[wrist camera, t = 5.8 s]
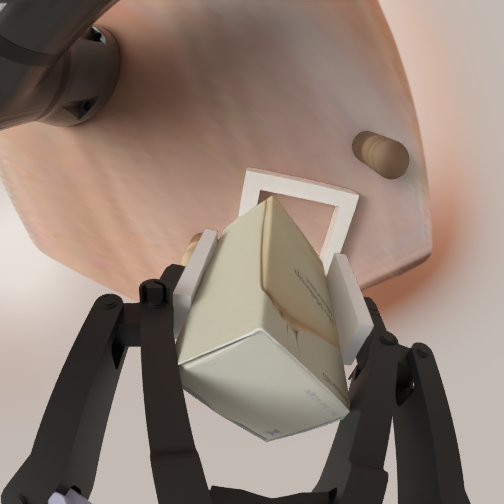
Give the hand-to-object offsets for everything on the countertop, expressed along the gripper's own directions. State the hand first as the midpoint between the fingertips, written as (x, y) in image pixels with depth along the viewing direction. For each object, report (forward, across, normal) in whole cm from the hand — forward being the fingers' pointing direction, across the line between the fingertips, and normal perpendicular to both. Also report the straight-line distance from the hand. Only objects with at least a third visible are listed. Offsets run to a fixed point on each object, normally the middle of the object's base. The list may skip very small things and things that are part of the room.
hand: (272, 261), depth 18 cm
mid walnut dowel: (+20, +11, +7) cm, 24 cm away
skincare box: (+2, 0, 0) cm, 2 cm away
